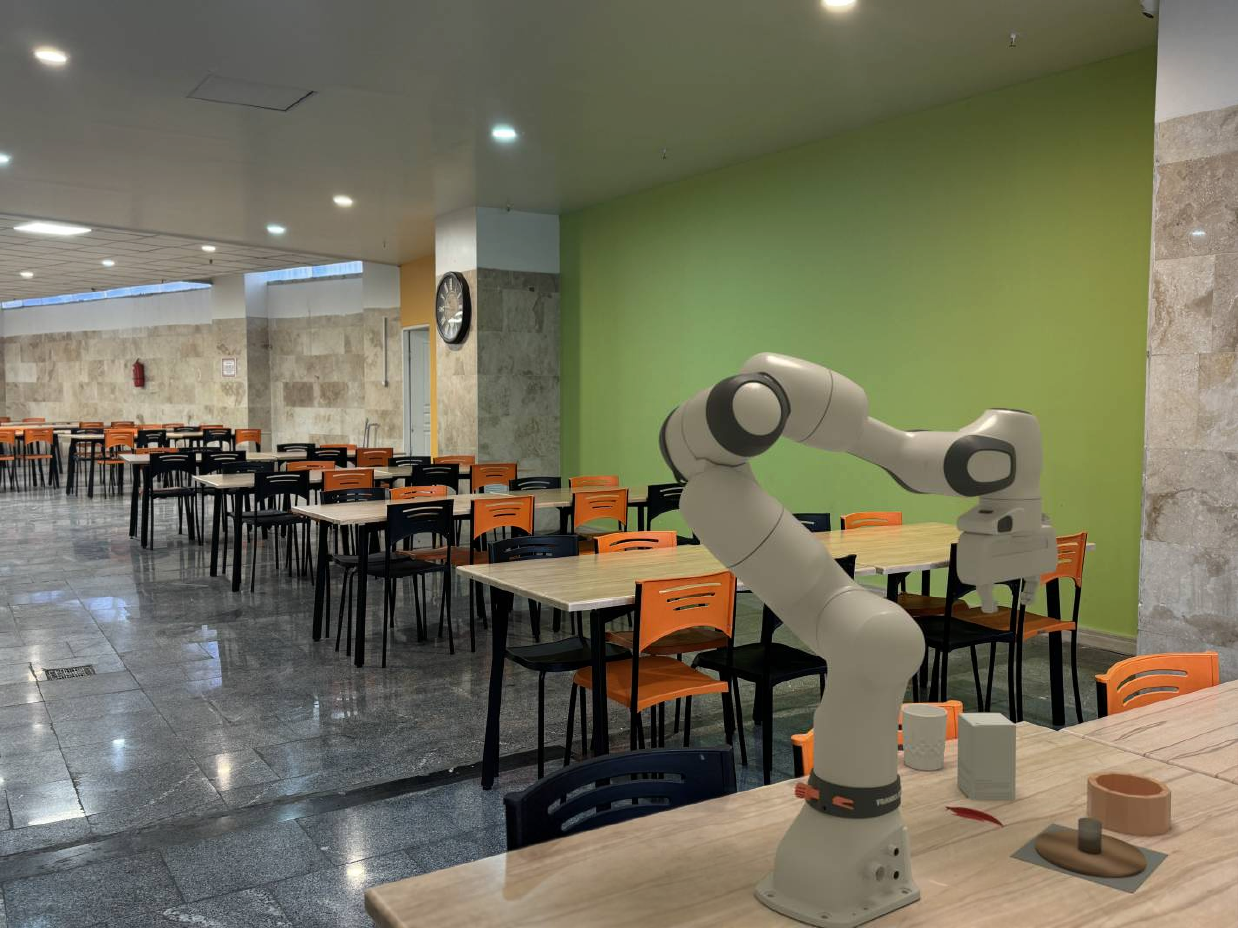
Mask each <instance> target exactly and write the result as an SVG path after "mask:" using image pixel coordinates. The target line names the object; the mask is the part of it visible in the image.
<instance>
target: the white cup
mask: <svg viewBox="0 0 1238 928" xmlns="http://www.w3.org/2000/svg"><path fill="white" fill-rule="evenodd" d="M900 713H901V734H902V735H901V737H902V749H903V762H904V764H905V766H907V767H909V768H911V769H914V770H918V771H927V772H928V771H935V772H936V771H938V769H939V770H941V769H942V768H943V767H944V763H945V762H944V759H945V751H946V739H947V726H948V725H947V722H948V710H947V709H945V708H944V707H941V706H937V705H933V704H928V703H927V704H926V703H910V704H906V705H902V706H901V711H900Z"/></svg>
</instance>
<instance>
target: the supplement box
mask: <svg viewBox="0 0 1238 928" xmlns="http://www.w3.org/2000/svg"><path fill="white" fill-rule="evenodd" d="M1016 743H1017V724H1016V723H1014V722H1013V721H1011V720H1010V719H1008V718H1007V717H1006V716H1004V715H1003V714H1002V713H1001V712H963V713H962V712H959V713H958V714H957V776H956V777H957V779H956V781H957V785H956V786H957V787H958V788H959V789H960V790H961V791H962V792H963V793H964V794H965V796H967V798H968V799H970V800H975V801H977V800H980V801H983V800H984V801H987V800H989V801H991V800H993V801H1015V800H1016V777H1017V776H1016V770H1017V767H1016V763H1017V762H1016V759H1017V756H1016V755H1017V751H1016V750H1017V749H1016V747H1017V744H1016Z"/></svg>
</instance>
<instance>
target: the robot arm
mask: <svg viewBox="0 0 1238 928" xmlns="http://www.w3.org/2000/svg"><path fill="white" fill-rule="evenodd" d="M868 399H869V398H868V396H867V393H866V391H865V390H864V389H863V387H861V386H860V385H859V384H857V383H856V382H854V381H853V380H851V379H850V378H848V377H847V376H845V375H843V374H840V373H839V372H836V371H834V370H833V369H829V368H827V367H824V366H822V365H819V364H817V363H815V362H811V361H809V360H805V359H802V358H798V357H796V356H795V357H794V356H790V355H786V354H781V353H776V352H770V351H766V352H764V351H763V352H760V353H756V354H753V355H752V356H751V357H749V358H748V359H747V360H746V361H745V362H744V363H743V365H742V366H741V367H740V369H739V371H738V373H737V374H736V375H733V376H728V377H725V378H724V379H722V380H720V381H719V382H718V383H716V384H714V385H712V386H710V387H707V388H705V389H702V390H700V391H698V392H696V393H695V394H693V395H692V396H690V397H689V398H688V399H686V400H685V401H684V402H683V403H682V404H680V405H678V406H676V408H673V410H672V411H671V412H669V414H668V415H667V417H666V418H665V419H664V420H663V423H662V425H661V426H660V430H659V433H658V445H659V446H658V447H659V451H660V453H661V456H662V458H663V461H664V462H665V464H666V465H667V466H668V468H669V469H670V470H671V472H672V475H673V478H674V480H675V481H676V483H677V484H679V485H680V486H682V487H683V490H682V492H681V494H680V496H679V497H680V498H679V503H678V508H679V513H680V516H681V517H682V519H683V520H684V522H685V524H686V525H687V527H688V528H689V529H690V530H691V532H692V533H693V534H694V535H695V536H696V539H698V541H700V543H701V544H702V546H704V548H706V550H707V551H708V552H709V553H710V554H711V555H712V556H713V557H714V558H715V559H716V560H717V561H718V562H719V563H720V564H722V566H723V567H724V568H726V569H727V570H728V571H729V572H730V573H731V574H732V575H734V577H735V578H737V580H739V581H740V582H741V583H742V584H743V585H744V586H745V587H747V589H749V591H751V592H752V593H753V594H754V595H755V596H756V597H757V598H758V599H759V600H760V601H762V602H763V604H765V605H766V606H767V607H768V608H769V609H770V610H771V611H772V612H773V614H775V615H776V616H777V617H778V618H779V620H780V621H781V622H783V623H784V624H785V625H786V627H787V628H789V630H790V631H792V633H794V634H795V635H796V636H797V637H798V638H799V639H800V640H801V641H802V643H804V645H806V646H807V647H808V648H809V649H810V650H812V652H814V653H815V654H816V655H817V656H819V657H820V658H822V659H823V660H825V661H826V667H827V676H826V682H825V686H824V690H823V695H822V698H821V701H820V704H819V705H818V706H817V707H816V709H815V711H814V714H813V745H812V746H813V760H812V761H813V766H812V768H811V769H810V772H809V776H808V778H807V782H806V784H805V783H804V782H800V781H799V782H798V783H796V785H795V787H794V796H795V798H798V799H802V800H803V799H804V800H805V802H804V804H803V806H802V807H801V809H800V811H799V812H798V814H797V815H796V817H795V818H794V820H793V821H792V823H791V825H790V826H789V828H788V829H787V831H786V832H785V834H784V836H783V837H782V838H781V840H780V842H779V844H778V845H777V847H776V848H775V854H774V855H775V856H774V862H773V864H774V865H773V869H772V870H771V871H770V872H768V874H767V875H766V876H765V877H763V878H762V880H760V882H758V884H757V885H756V886H755V887H754V896H755V898H757V900H759V901H760V902H761V903H762V904H764V905H765V906H767V907H768V908H771V909H772V910H773V911H776V912H777V913H780V914H782V915H785V916H787V917H790V918H792V919H795V920H797V921H801V922H804V923H806V924H808V925H813V926H817V927H821V928H855V927H858V926H860V925H861V924H864V923H866V922H868V921H871V920H873V919H875V918H878V917H880V916H883V915H885V914H887V913H889V912H892V911H895V910H896V909H899V908H901V907H904V906H906V905H909V904H911V903H914V902H915V901H917V900H919V899H921V889H920V887H919V886H918V885H917V883H915V882H914V881H913V876H912V858H911V845H910V833H909V830H908V828H907V826H906V824H905V823H904V820H903V818H902V816H901V813H900V810H899V807H900V806H901V804H902V802H901V801H902V794H903V792H902V791H903V790H902V783H901V776H900V775H899V774H898V764H899V763H898V757H899V756H898V754H899V723H900V716H901V708H902V707H903V702H904V697H905V693H906V689H907V686H908V683H909V680H911V678H913V676H914V675H915V674H916V673H917V672H918V671H919V669H920V668H921V665H922V664H923V661H924V659H925V652H926V642H925V641H926V640H925V636H924V633H923V630H922V629H921V627H920V626H919V624H918V623H917V622H916V620H914V618H913V617H912V616H911V615H910V614H909V613H908V612H907V611H906V609H904V608H903V607H902V606H901V605H900V604H898V603H896V602H894V601H892V600H889V599H887V598H885V597H882V596H880V595H878V594H875V593H873V592H871V591H870V590H868V589H866V588H864V587H863V586H861V585H860V584H858V583H857V582H856V581H854V579H853V578H851V576H849V574H848V573H847V572H846V571H845V570H844V569H843V568H842V567H841V565H840V564H839V562H837V560H835V558H834V557H833V556H832V555H831V553H830V552H829V551H828V548H827V546H826V545H825V544H824V543H823V542H822V541H821V540H820V539H819V538H818V537H817V536H815V535H814V533H812V531H810V530H809V529H808V528H807V527H806V526H805V525H804V524H802V522H801V521H800V520H798V519H797V518H796V517H795V515H793V514H792V513H791V512H790V511H789V510H788V509H787V508H786V507H785V506H783V505H782V503H780V502H779V501H778V500H777V499H776V498H775V497H774V496H772V495H771V494H770V493H769V492H767V490H765V489H764V488H763V487H762V486H761V484H760V483H759V481H758V480H757V478H756V477H755V475H754V472H753V471H752V468H751V465H750V462H749V461H750V460H752V459H753V458H754V457H756V456H757V457H758V456H760V455H762V454H764V453H765V452H767V451H768V450H770V448H772V447H773V445H775V444H776V443H777V441H778V440H779V439H780V437H782V438H783V437H784V438H785V439H789V440H790V441H793V442H795V443H798V444H800V445H804V446H807V447H810V448H814V449H816V450H817V449H818V450H821V451H827V452H835V453H842V452H845V453H847V454H850V455H853V456H855V457H857V458H859V459H862V460H863V461H866V462H869V463H870V464H874V465H876V466H878V467H879V468H880V469H882V470H884V471H885V472H886V473H887V474H888V475H889V476H890V477H891V478H892V480H894V481H895V482H896V483H897V485H898V486H900V488H902V489H904V490H906V491H907V492H909V493H911V494H917V495H938V496H946V497H954V498H963V499H969V498H970V499H971V498H975V497H978V503H977V504H975V505H974V506H972V508H970V509H969V510H967V511H966V512H964V513H963V514H961V515H959V516H958V517H957V519H956V529H957V531H959V532H961V533H960V535H959V536H958V539H957V543H956V573H957V577H958V579H959V580H960V582H961V583H962V584H966V585H972V586H975V590H976V592H977V594H978V598H979V599H980V600H981V605H980V606H981V611H982V612H983V613H985V614H993V613H997V612H998V610H999V608H998V606H999V600H996V599H995V598H994V595H993V591H994V590H995V584H997V583H1002V582H1007V581H1008V582H1009V581H1012V580H1019V579H1023V580H1024V581H1025V583H1024V587H1023V591H1021V592H1020V593H1019V598H1020V599H1019V601H1020V604H1021V605H1026V606H1031V605H1032V606H1033V605H1036V603H1037V593H1038V591H1039V588H1040V586H1041V583H1042V575H1045V574H1052V573H1055V572H1056V570H1057V568H1058V565H1059V553H1058V552H1059V550H1058V541H1057V534H1056V531H1055V528H1054V527H1053V522H1052V519H1051V518H1050V517H1049V515H1048V514H1047V513H1045V512H1043V495H1042V490H1041V486H1040V478H1041V474H1042V472H1043V471H1042V470H1043V440H1042V439H1043V438H1042V431H1041V427H1040V423H1039V421H1038V418H1037V417H1036V415H1034V414H1032V413H1031V412H1028V411H1025V410H1022V409H1015V408H1006V407H991V408H987V409H985V411H984V412H983V413H982V415H981V416H980V417H978V418H977V419H976V420H975V421H973V422H971V423H969V424H968V425H966V426H964V427H962V428H959V429H956V431H944V430H943V431H942V430H941V431H940V430H939V431H938V430H937V431H935V430H929V429H910V430H900V429H898V428H896V427H894V426H891V425H888V424H887V423H884V422H883V421H880V420H878V419H876V418H874V417H871V416H869V413H870V404H869V400H868ZM682 481H683V482H682ZM685 483H686V484H685Z"/></svg>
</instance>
